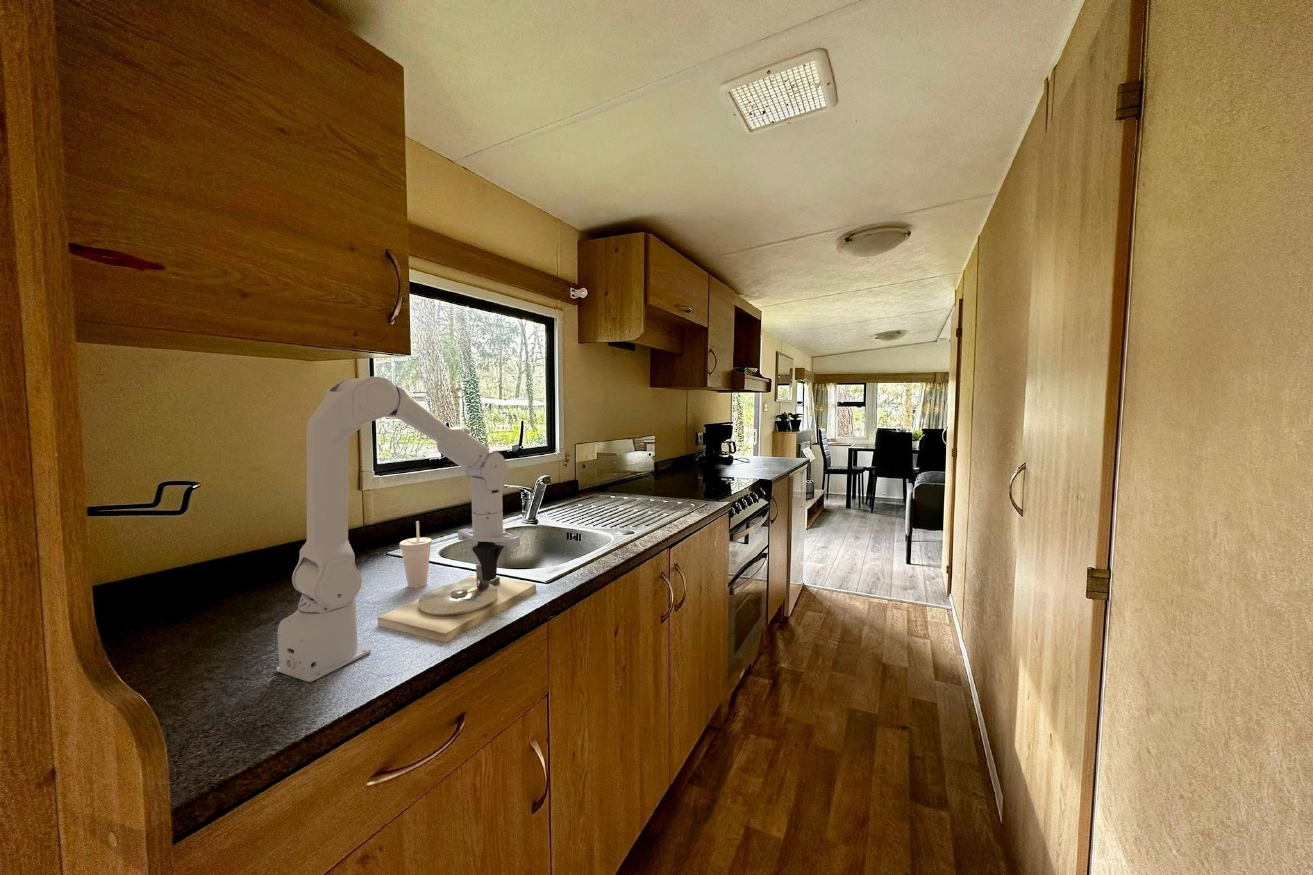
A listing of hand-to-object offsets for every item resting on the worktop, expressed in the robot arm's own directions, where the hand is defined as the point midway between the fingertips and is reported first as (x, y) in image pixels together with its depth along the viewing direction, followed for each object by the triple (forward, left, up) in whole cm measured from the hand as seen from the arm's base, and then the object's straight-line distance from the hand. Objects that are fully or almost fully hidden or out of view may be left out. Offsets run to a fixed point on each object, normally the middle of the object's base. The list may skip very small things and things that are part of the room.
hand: (489, 579), depth 97 cm
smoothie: (+1, +21, -5) cm, 21 cm away
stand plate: (-5, +3, -4) cm, 7 cm away
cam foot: (-5, +3, -3) cm, 6 cm away
